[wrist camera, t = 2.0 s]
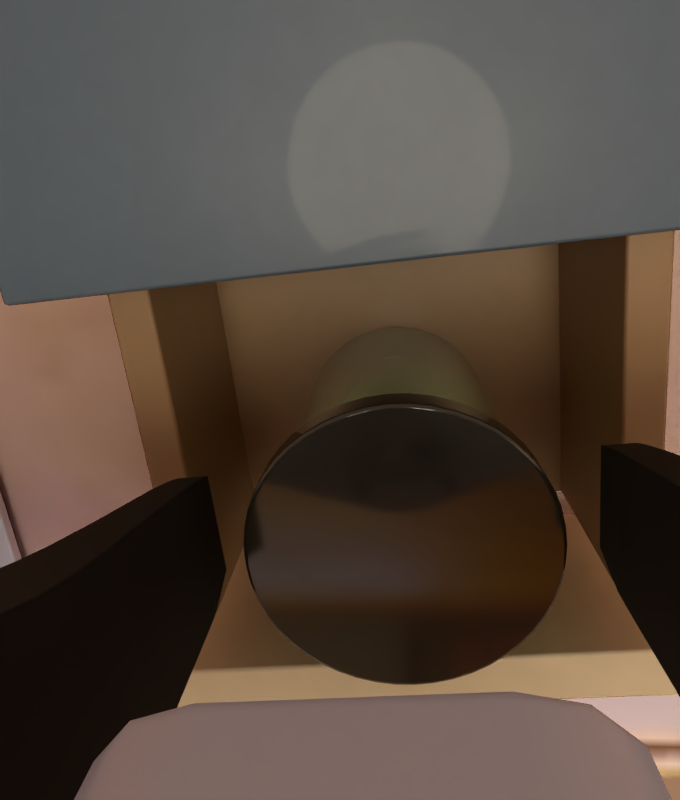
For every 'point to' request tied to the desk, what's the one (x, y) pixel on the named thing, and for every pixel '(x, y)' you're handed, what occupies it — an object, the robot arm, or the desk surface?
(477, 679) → the drawer
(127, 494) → the desk surface
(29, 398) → the desk surface
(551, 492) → the dark-capped cylinder
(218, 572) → the robot arm
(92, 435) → the desk surface
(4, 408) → the desk surface
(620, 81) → the cabinet
